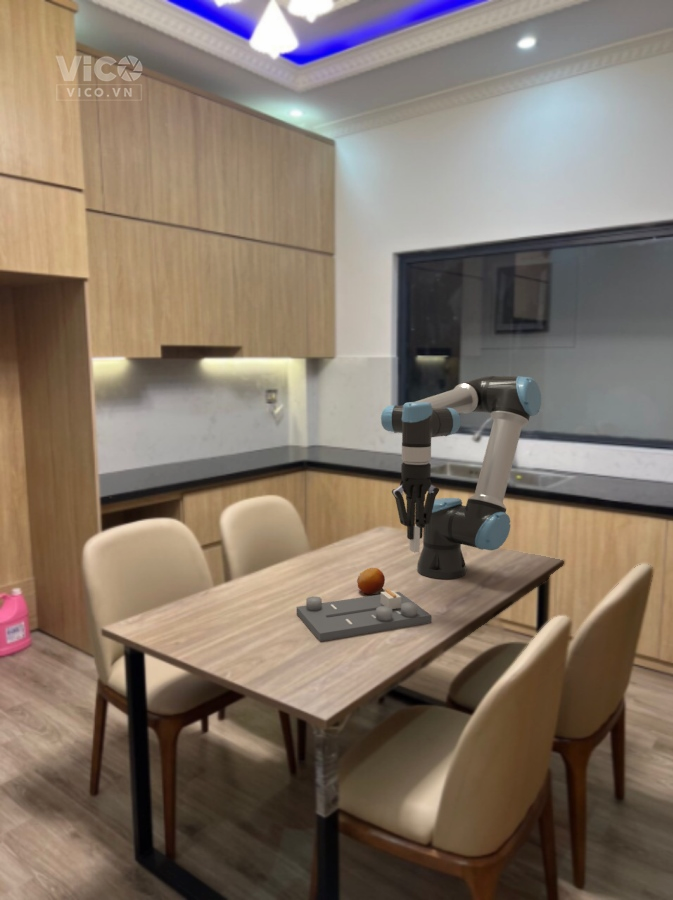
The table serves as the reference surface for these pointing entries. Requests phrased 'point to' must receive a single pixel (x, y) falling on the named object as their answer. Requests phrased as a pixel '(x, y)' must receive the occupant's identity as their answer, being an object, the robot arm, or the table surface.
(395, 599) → the fader
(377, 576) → the fruit
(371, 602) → the console
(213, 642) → the table surface
